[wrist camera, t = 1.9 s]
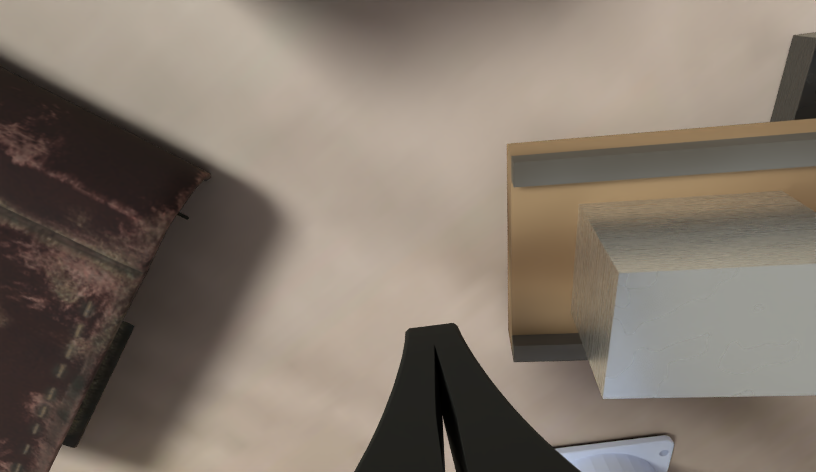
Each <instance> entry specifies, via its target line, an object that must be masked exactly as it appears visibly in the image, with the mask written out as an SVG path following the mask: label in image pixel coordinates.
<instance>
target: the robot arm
mask: <svg viewBox="0 0 816 472" xmlns="http://www.w3.org/2000/svg"><path fill="white" fill-rule="evenodd" d="M442 416H443V418H442ZM443 420H444V424H445V428H446V432H447V436H448V441H449V445H450V449H451V453H452V457H453V461H454V465H455V469H456V472H667V471H668V467H669V463H670V460H671V456H672V452H673V448H674V442H673V441H672V439H671V438H670V437H669V436H667V435H661V436H653V437H645V438H637V439H629V440H621V441H612V442H604V443H596V444H588V445H580V446H572V447H564V448H555V449H554V448H553V447H552V446H551V445H550V444H549V443H548V442H547V441H545V440H544V439H543V438H542V437H541V436H540V435H539V434H538V433H537V432H536V431H535V430H534V429H533V428H532V427H531V426H530V425H529V424H528V423H527V422H526V421H525V420H524V419H523V417H522V416H521V415H520V414H519V413H518V412H517V411H516V410H515V409H514V408H513V406H512V405H511V404H510V403H509V402H508V401H507V399H506V398H505V397H504V396H503V395H502V393H501V392H500V391H499V390H498V389H497V387H496V386H495V385H494V383H493V382H492V381H491V380H490V378H489V377H488V375H487V374H486V373H485V371H484V370H483V368H482V367H481V366H480V364H479V363H478V361H477V360H476V358H475V357H474V355H473V354H472V352H471V351H470V349H469V347H468V346H467V344H466V342H465V340H464V339H463V337H462V335H461V333H460V331H459V328H458V326H457V325H456V324H454V323H449V324H441V325H433V326H425V327H417V328H409V329H408V330H407V331H406V332H405V344H404V350H403V355H402V359H401V363H400V367H399V370H398V373H397V376H396V380H395V383H394V386H393V389H392V392H391V395H390V397H389V400H388V402H387V405H386V408H385V410H384V413H383V415H382V418H381V420H380V422H379V424H378V427H377V429H376V431H375V433H374V435H373V437H372V439H371V441H370V443H369V445H368V447H367V449H366V451H365V453H364V455H363V457H362V459H361V460H360V462H359V464H358V466H357V468H356V470H355V471H354V472H445V459H444V438H443Z"/></svg>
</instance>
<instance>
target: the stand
mask: <svg viewBox="0 0 816 472" xmlns="http://www.w3.org/2000/svg"><path fill="white" fill-rule="evenodd" d="M815 118H816V32H815V33H807V34H799V35H794V36H793V39H792V43H791V47H790V50H789V54H788V58H787V62H786V65H785V69H784V73H783V77H782V80H781V84H780V88H779V91H778V95H777V99H776V103H775V106H774V110H773V114H772V117H771V121H770V122H778V121H791V120H803V119H815Z"/></svg>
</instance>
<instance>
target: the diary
mask: <svg viewBox="0 0 816 472" xmlns="http://www.w3.org/2000/svg"><path fill="white" fill-rule="evenodd" d="M209 178H211V175H210V173H208V172H206V171H204V170H202V169H200V168H199V167H197V166H195V165H193V164H191V163H189V162H187V161H185V160H183V159H181V158H179V157H177V156H175V155H173V154H171V153H169V152H167V151H165V150H164V149H162V148H160V147H158V146H156V145H154V144H152V143H150V142H148V141H146V140H144V139H142V138H140V137H138V136H136V135H134V134H132V133H130V132H128V131H126V130H124V129H122V128H120V127H118V126H116V125H114V124H112V123H110V122H108V121H106V120H105V119H103V118H101V117H99V116H97V115H95V114H93V113H91V112H89V111H87V110H85V109H83V108H81V107H79V106H77V105H75V104H73V103H71V102H69V101H67V100H65V99H63V98H61V97H59V96H57V95H55V94H53V93H51V92H49V91H47V90H46V89H44V88H42V87H40V86H38V85H36V84H34V83H32V82H30V81H28V80H26V79H24V78H22V77H20V76H18V75H16V74H14V73H12V72H10V71H8V70H6V69H5V68H3V67H1V66H0V472H49V470H50V468H51V466H52V464H53V462H54V460H55V458H56V456H57V454H58V452H59V450H60V448H61V445H62V444H63V445H66V446H70V447H73V448H75V447H77V445H78V443H79V441H80V439H81V437H82V435H83V433H84V430H85V428H86V426H87V424H88V422H89V420H90V418H91V416H92V414H93V412H94V410H95V408H96V405H97V403H98V401H99V399H100V397H101V395H102V393H103V391H104V389H105V387H106V385H107V383H108V380H109V378H110V376H111V374H112V372H113V370H114V368H115V366H116V364H117V362H118V360H119V358H120V355H121V353H122V351H123V349H124V347H125V345H126V343H127V341H128V339H129V337H130V335H131V333H132V330H133V328H134V325H131V324H129V323H127V322H124V321H123V319H124V317H125V315H126V313H127V311H128V309H129V307H130V305H131V303H132V301H133V299H134V297H135V295H136V293H137V291H138V289H139V287H140V285H141V283H142V281H143V279H144V277H145V275H146V274H147V272H148V270H149V266H150V264H151V262H152V260H153V258H154V256H155V254H156V252H157V250H158V248H159V246H160V244H161V242H162V239H163V237H164V235H165V233H166V231H167V229H168V227H169V225H170V224H171V222H172V221H173V219H174V218H175V217H176V215H179V216H181V217H183V218H185V219H189V217H188V216H186V215H184V214H182V213H180V212H179V211H180V210H181V208H182V207H183V205H184V204H185V203H186V201H187V200H188V198H189V197H190V196H191V194H192V193H193V191H194V190H195V189H196V188H197V187H198V186H199V185H200V184H201V183H202V181H203V180H204V181H207V180H208V179H209Z"/></svg>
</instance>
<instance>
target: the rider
mask: <svg viewBox="0 0 816 472" xmlns="http://www.w3.org/2000/svg"><path fill="white" fill-rule="evenodd" d="M571 314H572V317H573V320H574V322H575V325H576V328H577V331H578V333H579V336H580V339H581V341H582V344H583V347H584V350H585V352H586V355H587V358H588V360H589V363H590V366H591V369H592V371H593V374H594V377H595V379H596V382H597V385H598V388H599V390H600V393H601V396H602V398H603V399H625V398H685V397H746V396H807V395H816V212H815V211H813V210H811V209H810V208H808V207H807V206H805V205H804V204H802V203H800V202H799V201H797V200H796V199H794V198H792V197H791V196H789V195H788V194H786V193H785V192H783V191H770V192H755V193H739V194H724V195H709V196H694V197H679V198H663V199H648V200H633V201H618V202H603V203H587V204H579V209H578V222H577V236H576V249H575V263H574V276H573V290H572V303H571Z"/></svg>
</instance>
